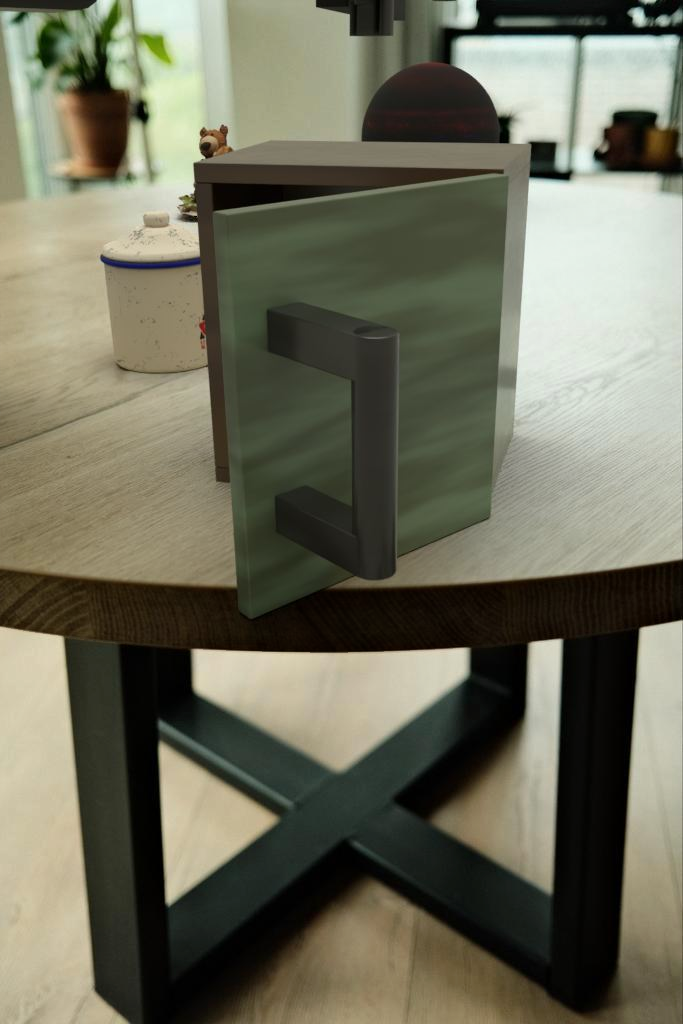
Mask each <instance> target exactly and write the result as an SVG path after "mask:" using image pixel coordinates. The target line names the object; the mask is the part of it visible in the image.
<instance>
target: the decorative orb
mask: <svg viewBox="0 0 683 1024" xmlns="http://www.w3.org/2000/svg"><path fill="white" fill-rule="evenodd" d="M361 127H362V128H361V142H428V143H500V121H499V117H498V113H497V110H496V107H495V104H494V102H493V100H492V98H491V96H490V94H489V93H488V91H487V90H486V89H485V87H484V86H483V85H482V83H481V82H480V81H479V80H477V78H475V77H474V76H473V75H472V74H470V73H468V72H467V71H466V70H464V69H462V68H460V67H457V66H455V65H452V64H448V63H445V62H444V63H443V62H422V63H417V64H413V65H410V66H408V67H405V68H403V69H401V70H400V71H399V70H398V71H397V72H396V73H394V74H393V75H391V77H389V78H387V80H385V82H383V83H382V84H381V86H380V87H379V88H378V89H377V90H376V92H375V93H374V95H373V96H372V98H371V100H370V102H369V104H368V106H367V108H366V110H365V114H364V117H363V121H362V126H361Z"/></svg>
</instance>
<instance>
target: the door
mask: <svg viewBox="0 0 683 1024" xmlns="http://www.w3.org/2000/svg"><path fill="white" fill-rule="evenodd" d="M508 187H509V175H505V174H496V173H492V174H485V175H478V176H470V177H463V178H456V179H448V180H441V181H433V182H426V183H419V184H411V185H404V186H397V187H389V188H382V189H375V190H367V191H360V192H353V193H345V194H338V195H331V196H323V197H316V198H309V199H301V200H294V201H287V202H279V203H272V204H265V205H257V206H250V207H243V208H235V209H228V210H221V211H214V212H213V225H214V240H215V255H216V271H217V286H218V301H219V317H220V332H221V347H222V363H223V378H224V393H225V409H226V424H227V439H228V455H229V470H230V483H229V484H230V485H229V486H230V499H231V514H232V515H231V516H232V531H233V543H234V546H233V547H234V559H235V560H234V562H235V578H236V592H237V607H238V612H239V613H240V614H241V615H243V616H245V617H246V618H248V619H249V620H254V619H255V618H258V617H260V616H262V615H265V614H267V613H270V612H272V611H274V610H276V609H279V608H282V607H284V606H285V605H288V604H290V603H293V602H296V601H298V600H301V599H303V598H305V597H307V596H310V595H312V594H314V593H316V592H320V590H324V589H325V588H329V587H330V586H333V585H335V584H337V583H340V582H342V581H344V580H346V579H349V578H351V577H353V576H355V577H356V578H360V579H363V580H365V581H383V580H384V581H385V580H387V579H390V578H392V577H393V576H394V575H396V573H397V571H398V557H400V556H403V555H404V554H407V553H409V552H412V551H414V550H416V549H419V548H421V547H423V546H426V545H429V544H431V543H433V542H435V541H439V540H440V539H442V538H444V537H447V536H449V535H452V534H454V533H457V532H459V531H461V530H463V529H466V528H468V527H470V526H473V525H475V524H477V523H479V522H482V521H485V520H486V519H489V518H490V517H491V515H492V513H491V512H492V499H493V498H492V496H493V492H492V479H493V461H494V443H495V425H496V406H497V388H498V370H499V352H500V333H501V315H502V297H503V279H504V260H505V242H506V224H507V205H508Z"/></svg>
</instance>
